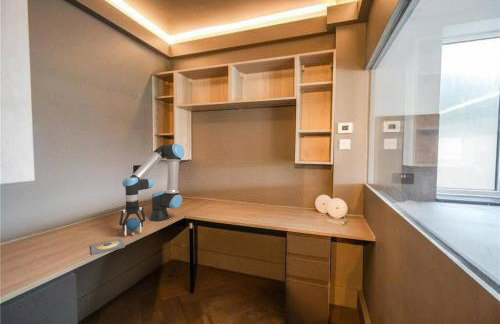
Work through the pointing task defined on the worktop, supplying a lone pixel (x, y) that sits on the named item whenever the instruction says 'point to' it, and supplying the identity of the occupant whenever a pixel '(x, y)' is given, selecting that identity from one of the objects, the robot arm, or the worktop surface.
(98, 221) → the worktop surface
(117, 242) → the socket board
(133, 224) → the light bulb
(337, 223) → the worktop surface
